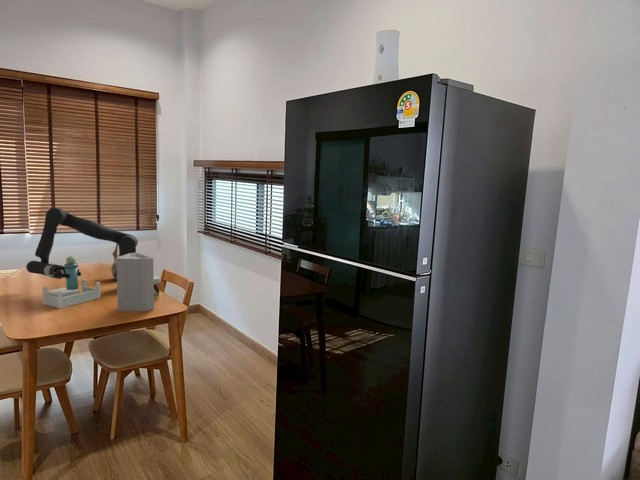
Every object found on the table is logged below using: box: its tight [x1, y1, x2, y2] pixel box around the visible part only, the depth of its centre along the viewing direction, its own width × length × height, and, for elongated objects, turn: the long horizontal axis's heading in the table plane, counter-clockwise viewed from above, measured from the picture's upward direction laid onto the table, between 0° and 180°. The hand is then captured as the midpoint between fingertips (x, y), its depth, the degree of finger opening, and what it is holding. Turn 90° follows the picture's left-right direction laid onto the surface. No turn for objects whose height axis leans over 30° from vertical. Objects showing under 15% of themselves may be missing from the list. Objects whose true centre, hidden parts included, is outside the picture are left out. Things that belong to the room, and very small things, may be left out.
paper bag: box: [116, 252, 155, 312], centre depth 220 cm, size 19×15×28 cm
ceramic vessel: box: [110, 243, 120, 281], centre depth 276 cm, size 16×9×25 cm, turn 44°
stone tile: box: [47, 286, 81, 298], centre depth 240 cm, size 12×12×2 cm
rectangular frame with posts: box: [42, 278, 101, 309], centre depth 228 cm, size 14×24×9 cm, turn 154°
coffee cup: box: [154, 275, 161, 300], centre depth 240 cm, size 9×9×12 cm
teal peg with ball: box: [63, 255, 79, 290], centre depth 227 cm, size 6×6×18 cm
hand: (74, 275), depth 226 cm, fingers closed on teal peg with ball, 5 cm apart
